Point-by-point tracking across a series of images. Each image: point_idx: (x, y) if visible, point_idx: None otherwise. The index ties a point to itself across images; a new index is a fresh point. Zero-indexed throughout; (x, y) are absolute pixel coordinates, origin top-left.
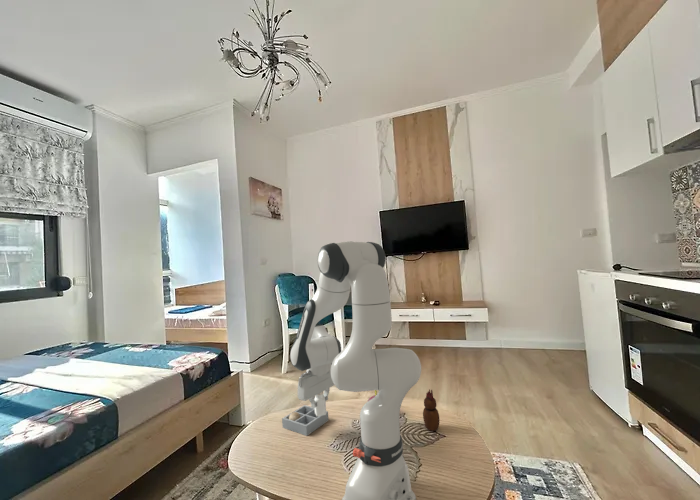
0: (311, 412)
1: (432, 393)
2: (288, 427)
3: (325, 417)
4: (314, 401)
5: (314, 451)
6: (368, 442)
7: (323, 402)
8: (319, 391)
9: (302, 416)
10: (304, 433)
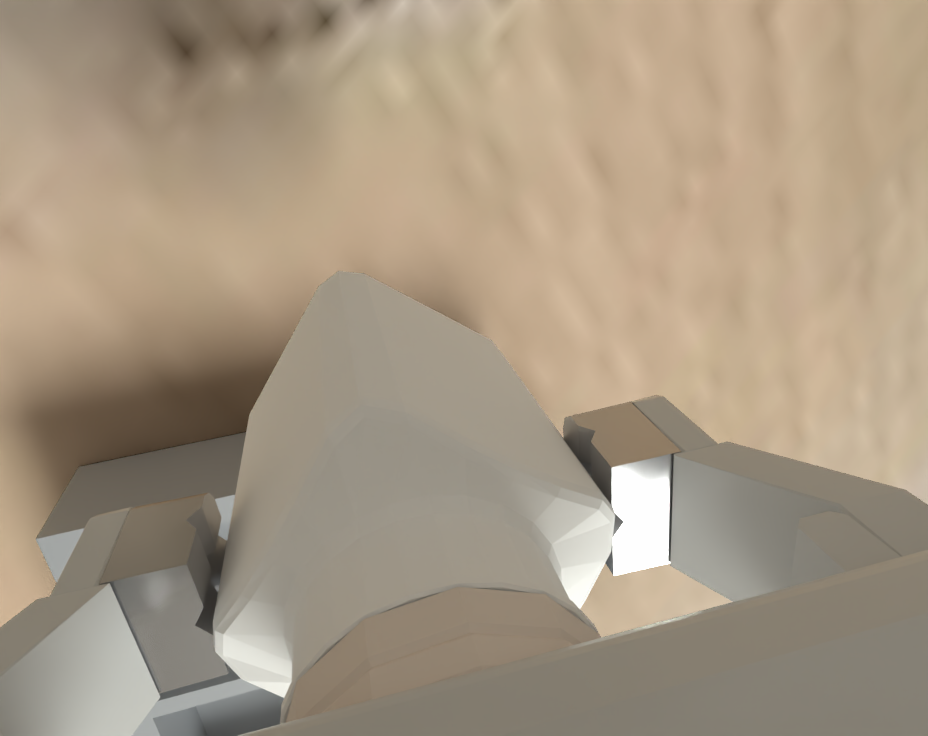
0: (231, 671)
1: None
2: None
3: (126, 487)
4: (751, 468)
5: (663, 55)
6: None
7: (418, 378)
8: (756, 672)
9: None
10: None
